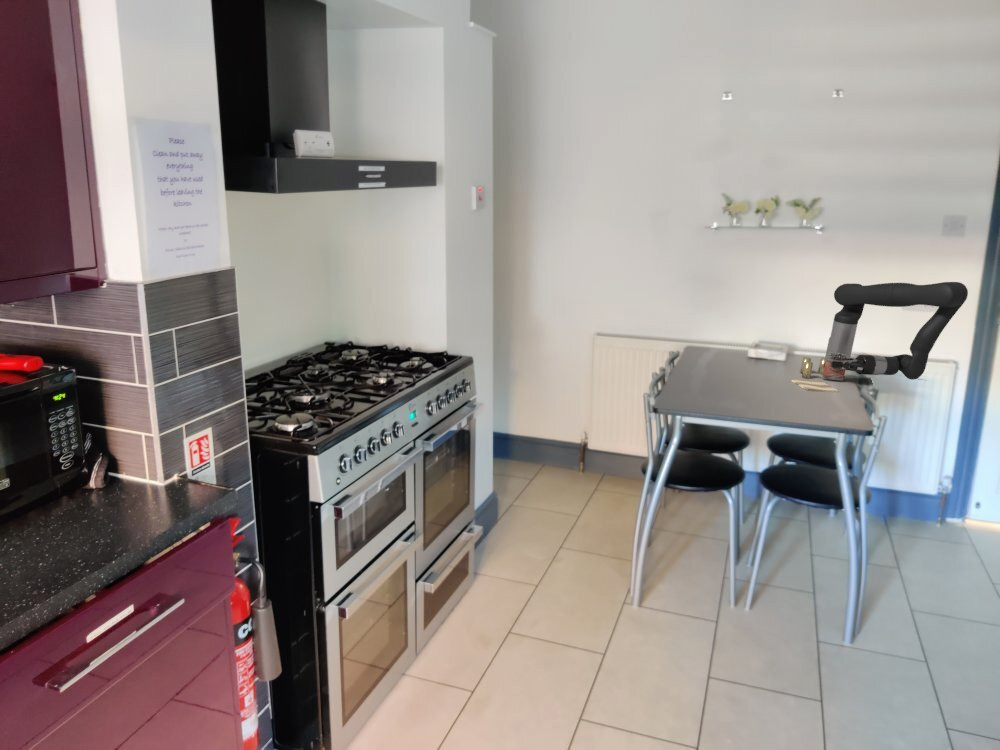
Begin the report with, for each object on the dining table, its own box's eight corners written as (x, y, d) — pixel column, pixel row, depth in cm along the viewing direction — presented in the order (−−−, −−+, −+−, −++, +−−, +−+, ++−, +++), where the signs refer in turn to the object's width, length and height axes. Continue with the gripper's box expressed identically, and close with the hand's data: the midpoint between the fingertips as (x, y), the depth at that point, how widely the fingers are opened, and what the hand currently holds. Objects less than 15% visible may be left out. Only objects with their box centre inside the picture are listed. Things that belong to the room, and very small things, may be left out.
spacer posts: (790, 370, 321) (793, 355, 319) (823, 372, 323) (826, 357, 321) (804, 378, 310) (807, 363, 309) (838, 380, 312) (841, 365, 311)
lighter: (842, 378, 313) (847, 353, 310) (845, 380, 310) (850, 355, 307) (821, 376, 313) (826, 351, 310) (823, 378, 310) (829, 353, 307)
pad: (791, 381, 305) (791, 379, 305) (821, 382, 307) (821, 381, 306) (807, 390, 293) (807, 389, 293) (838, 392, 295) (838, 390, 295)
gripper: (862, 350, 318) (821, 348, 315) (883, 360, 304) (841, 358, 302) (858, 369, 320) (817, 367, 317) (879, 379, 306) (836, 377, 304)
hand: (829, 362), depth 309 cm, fingers closed on lighter, 3 cm apart
